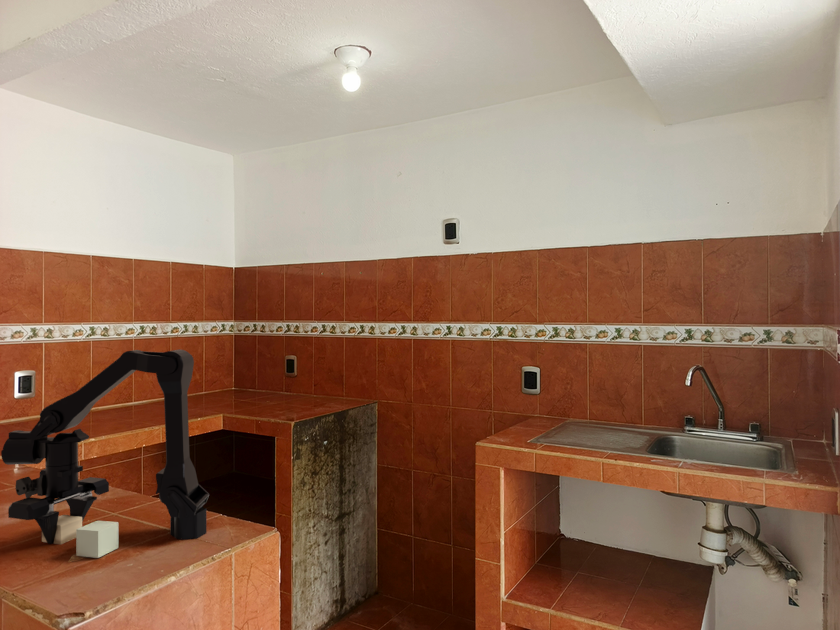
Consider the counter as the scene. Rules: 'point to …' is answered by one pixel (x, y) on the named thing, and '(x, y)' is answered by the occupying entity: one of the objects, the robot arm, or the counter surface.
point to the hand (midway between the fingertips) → (62, 538)
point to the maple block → (66, 528)
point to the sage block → (96, 539)
